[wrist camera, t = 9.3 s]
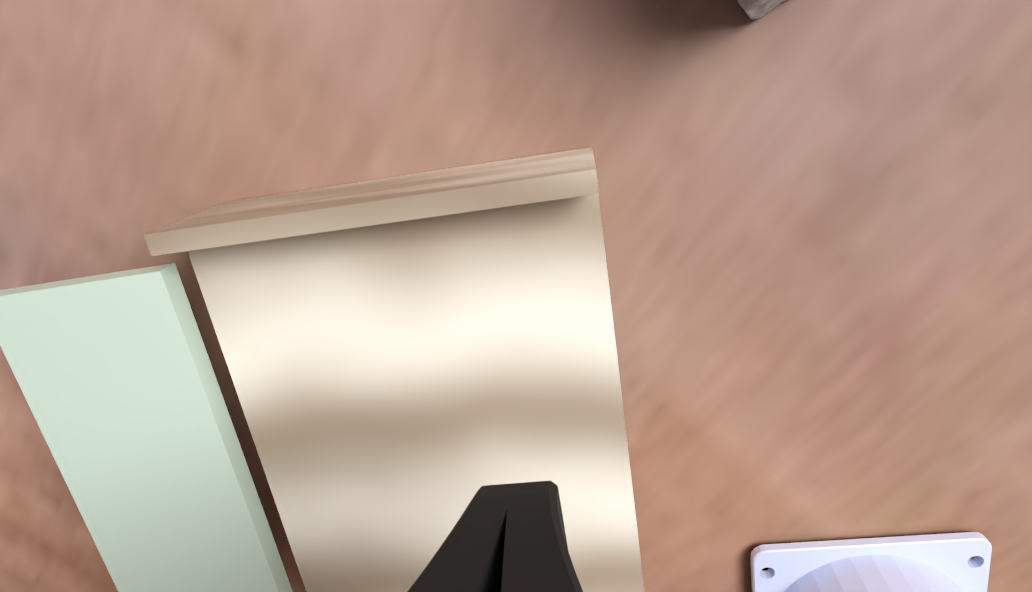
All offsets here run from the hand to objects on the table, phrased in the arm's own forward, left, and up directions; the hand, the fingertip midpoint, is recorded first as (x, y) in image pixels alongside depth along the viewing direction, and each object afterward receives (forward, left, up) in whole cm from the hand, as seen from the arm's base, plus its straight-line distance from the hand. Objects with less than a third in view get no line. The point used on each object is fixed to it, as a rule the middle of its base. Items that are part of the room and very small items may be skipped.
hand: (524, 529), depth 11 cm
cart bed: (-3, +4, -10) cm, 12 cm away
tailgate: (-3, +10, -8) cm, 13 cm away
